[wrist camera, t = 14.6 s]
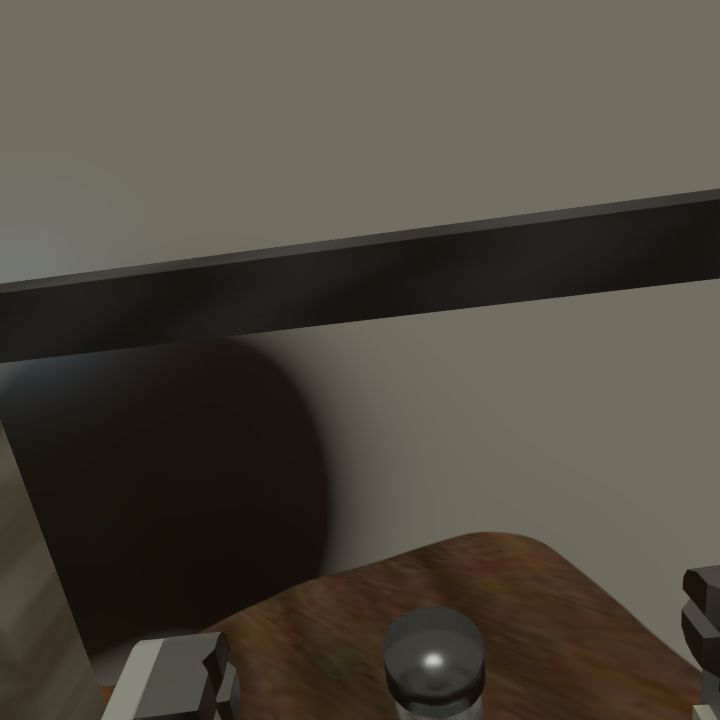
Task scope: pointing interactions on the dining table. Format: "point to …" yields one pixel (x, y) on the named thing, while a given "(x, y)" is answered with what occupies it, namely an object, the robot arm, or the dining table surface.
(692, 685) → the dining table surface
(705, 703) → the breaker box
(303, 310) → the arch
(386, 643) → the frosted spice bottle
